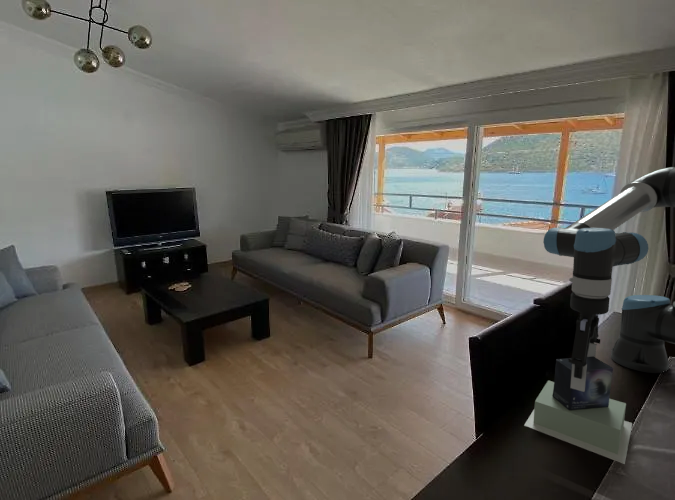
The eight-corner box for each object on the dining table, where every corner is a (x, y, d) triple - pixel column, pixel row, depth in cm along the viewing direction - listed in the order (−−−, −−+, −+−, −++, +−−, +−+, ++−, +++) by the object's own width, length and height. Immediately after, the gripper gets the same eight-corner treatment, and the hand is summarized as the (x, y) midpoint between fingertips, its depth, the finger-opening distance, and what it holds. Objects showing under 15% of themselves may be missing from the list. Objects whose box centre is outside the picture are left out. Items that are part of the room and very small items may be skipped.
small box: (570, 412, 86) (573, 371, 85) (551, 396, 93) (554, 358, 91) (610, 408, 87) (615, 367, 86) (589, 393, 94) (592, 355, 92)
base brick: (546, 400, 101) (548, 380, 100) (623, 425, 90) (626, 403, 89) (533, 422, 92) (534, 401, 91) (617, 454, 81) (620, 430, 80)
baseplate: (542, 397, 104) (543, 394, 104) (631, 426, 91) (632, 423, 91) (523, 428, 91) (524, 425, 91) (624, 468, 78) (624, 464, 78)
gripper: (581, 280, 97) (575, 354, 101) (559, 304, 79) (553, 394, 83) (616, 284, 92) (608, 362, 96) (601, 311, 74) (592, 406, 78)
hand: (583, 377), depth 89 cm, fingers open, 13 cm apart
